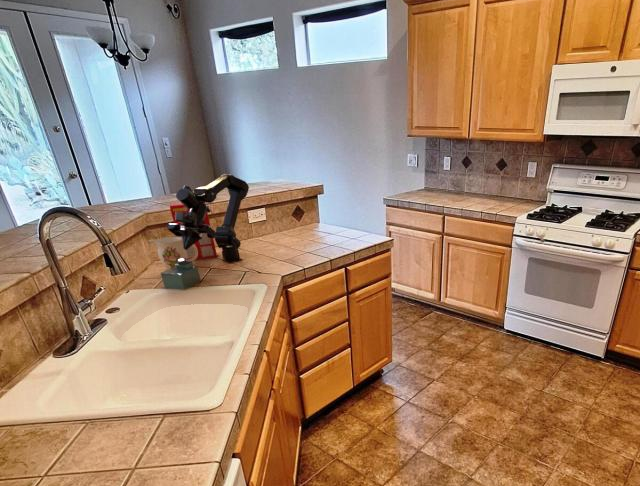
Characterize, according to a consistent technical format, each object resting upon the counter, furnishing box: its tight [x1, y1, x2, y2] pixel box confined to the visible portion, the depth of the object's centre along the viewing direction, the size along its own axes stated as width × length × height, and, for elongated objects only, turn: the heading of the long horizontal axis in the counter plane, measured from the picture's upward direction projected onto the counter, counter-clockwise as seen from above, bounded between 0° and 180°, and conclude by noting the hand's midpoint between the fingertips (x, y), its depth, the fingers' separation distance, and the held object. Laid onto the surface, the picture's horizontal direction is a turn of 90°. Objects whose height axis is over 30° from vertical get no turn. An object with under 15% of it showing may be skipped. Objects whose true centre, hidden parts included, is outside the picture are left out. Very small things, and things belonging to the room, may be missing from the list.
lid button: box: [178, 258, 189, 265], centre depth 170 cm, size 4×4×2 cm
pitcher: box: [147, 236, 198, 271], centre depth 186 cm, size 11×18×14 cm, turn 112°
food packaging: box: [169, 202, 218, 261], centre depth 199 cm, size 15×5×25 cm, turn 115°
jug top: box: [160, 261, 201, 291], centre depth 170 cm, size 11×9×8 cm
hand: (185, 249), depth 170 cm, fingers closed
